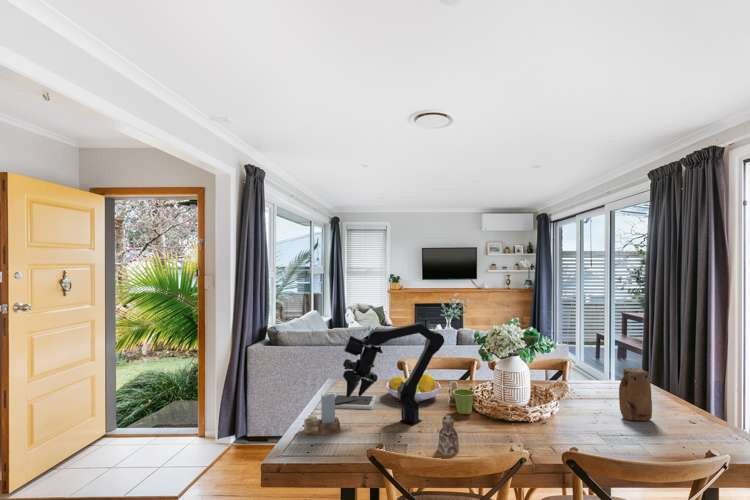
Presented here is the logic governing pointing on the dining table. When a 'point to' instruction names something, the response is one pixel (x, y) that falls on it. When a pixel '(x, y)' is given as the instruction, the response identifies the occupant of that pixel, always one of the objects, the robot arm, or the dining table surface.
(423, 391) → the fruit bowl
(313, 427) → the offcut stack
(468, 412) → the plant pot
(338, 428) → the rack
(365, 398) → the picture frame
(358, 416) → the dining table surface
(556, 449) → the dining table surface
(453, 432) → the figurine
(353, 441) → the dining table surface
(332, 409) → the light blue tall bar
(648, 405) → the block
